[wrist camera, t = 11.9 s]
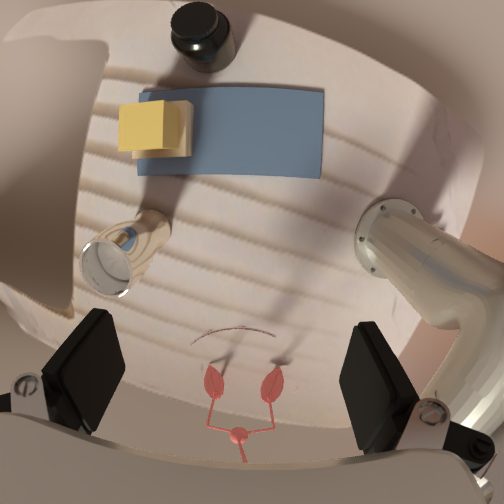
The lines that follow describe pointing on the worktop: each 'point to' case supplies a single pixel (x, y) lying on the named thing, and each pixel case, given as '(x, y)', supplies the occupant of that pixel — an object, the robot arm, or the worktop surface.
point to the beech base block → (183, 135)
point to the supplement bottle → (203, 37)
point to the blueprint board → (246, 132)
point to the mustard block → (148, 126)
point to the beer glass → (123, 253)
